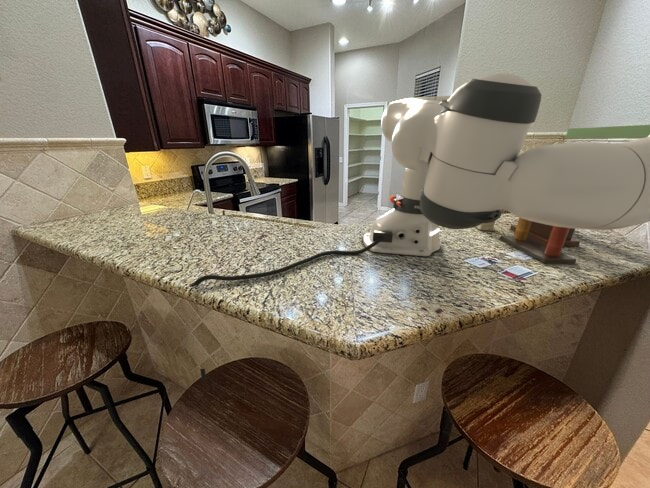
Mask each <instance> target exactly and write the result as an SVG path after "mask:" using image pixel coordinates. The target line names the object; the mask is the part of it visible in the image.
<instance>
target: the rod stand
mask: <svg viewBox="0 0 650 488" xmlns="http://www.w3.org/2000/svg"><path fill="white" fill-rule="evenodd" d="M531 223H532V221H529V220H526V219H522V218H519V217H518V220H517V224H516V225H517V227H516V231H514V234H513V235H511V234H510V235H506V234H505V235H504V234H503V235H500V237H499V240H501V241H502V242H505V243H507V244H508V245H510V246H512V247H514V248H515V249H517V250H519V251H521V252H523V253H525V254H526V255H528V256H530V257H532V258H533V259H535V260H537V261H539V262H541V263H543V264H566V265H567V264H569V265H570V264H571V265H573V264H576V262H577V259H576V258H574V257H573V256H570V255H569V254H566V253H564V252H562V251H563V247H564V246H563V245H564V243H565V240H566V237H567V235H568V232H569V229H570V228H565V227H557V226H553V228H552V231H551V234H550V237H549V240H548V243H547V245H544V244H542V243H540V242H538V241H536V240H534V239H532V238H530V237H527V235H528V232H529V229H530V226H531Z"/></svg>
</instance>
